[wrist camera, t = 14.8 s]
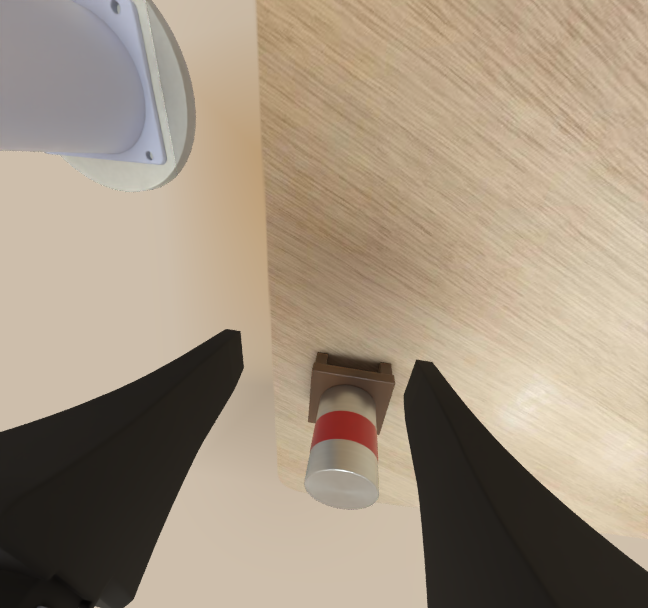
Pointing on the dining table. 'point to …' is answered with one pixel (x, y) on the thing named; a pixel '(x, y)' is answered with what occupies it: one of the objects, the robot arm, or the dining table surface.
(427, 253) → the dining table surface
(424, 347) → the dining table surface
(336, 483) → the can
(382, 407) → the stool
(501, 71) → the dining table surface
